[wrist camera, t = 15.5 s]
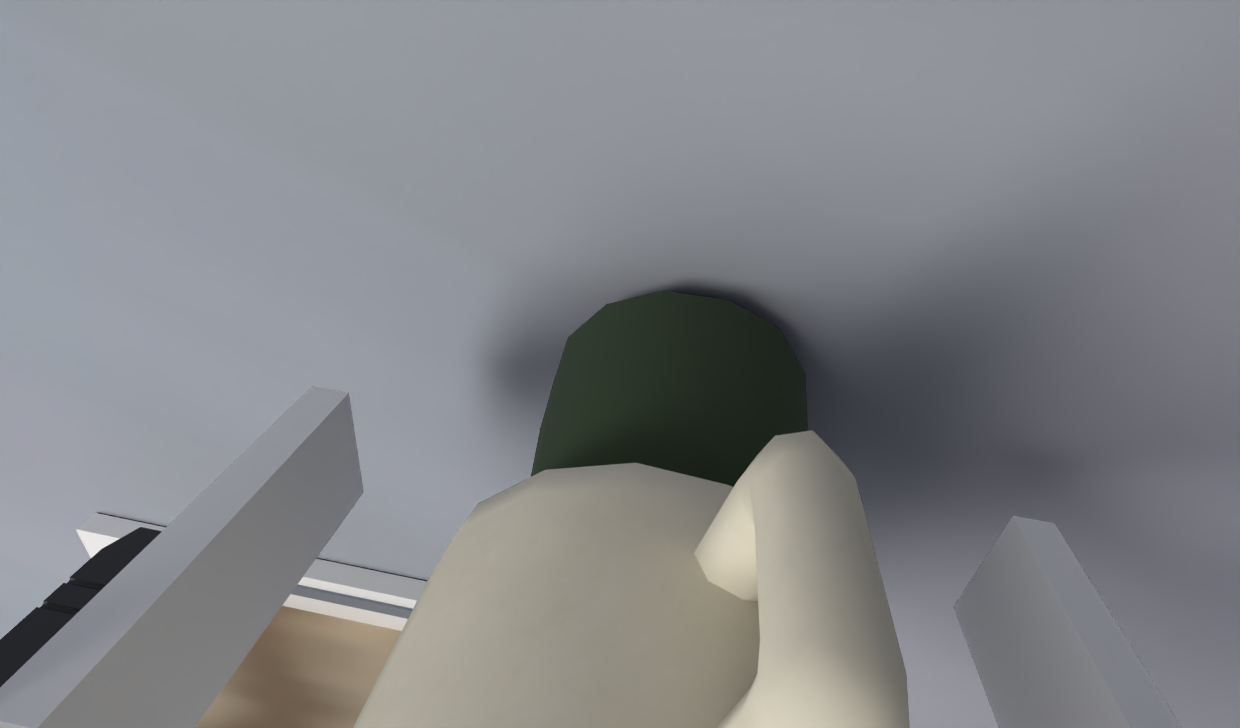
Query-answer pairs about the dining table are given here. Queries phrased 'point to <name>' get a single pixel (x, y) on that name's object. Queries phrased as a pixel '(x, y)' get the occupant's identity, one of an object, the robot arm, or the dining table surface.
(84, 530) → the white flat piece
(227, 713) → the wooden plinth
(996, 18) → the dining table surface
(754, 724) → the character mug
